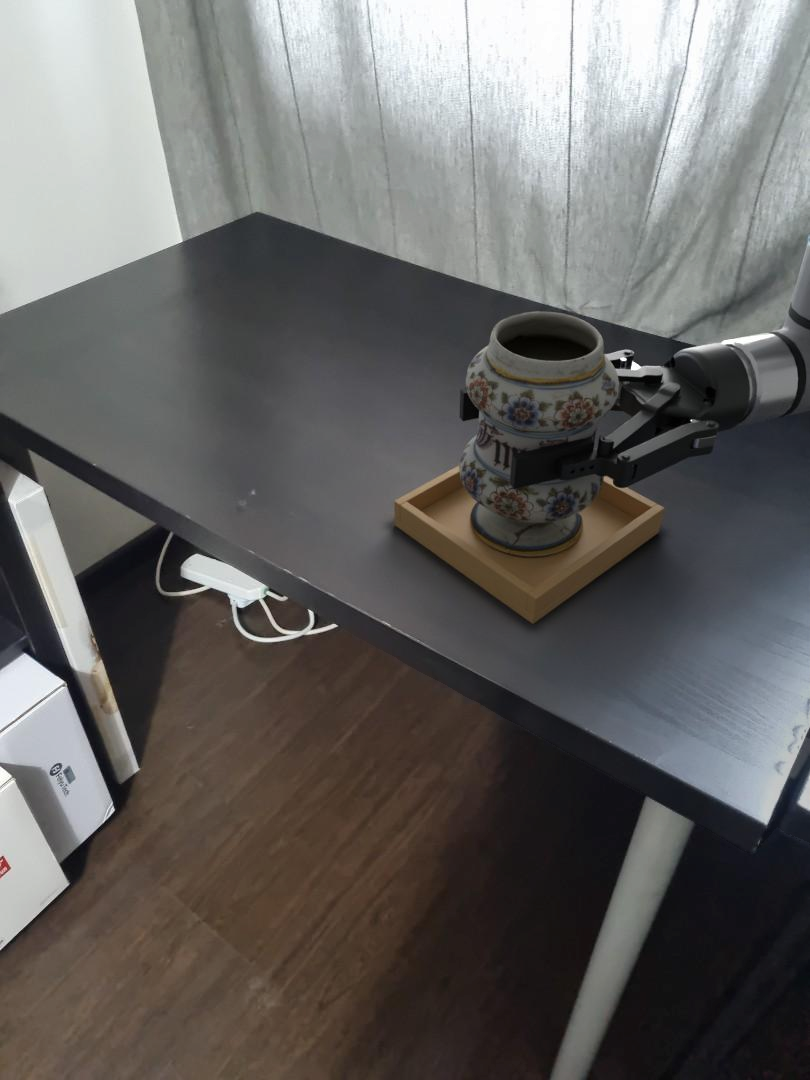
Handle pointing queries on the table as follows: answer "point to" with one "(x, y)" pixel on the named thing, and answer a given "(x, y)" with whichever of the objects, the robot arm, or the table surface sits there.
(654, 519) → the tray
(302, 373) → the table surface
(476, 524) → the apothecary jar
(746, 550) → the table surface
